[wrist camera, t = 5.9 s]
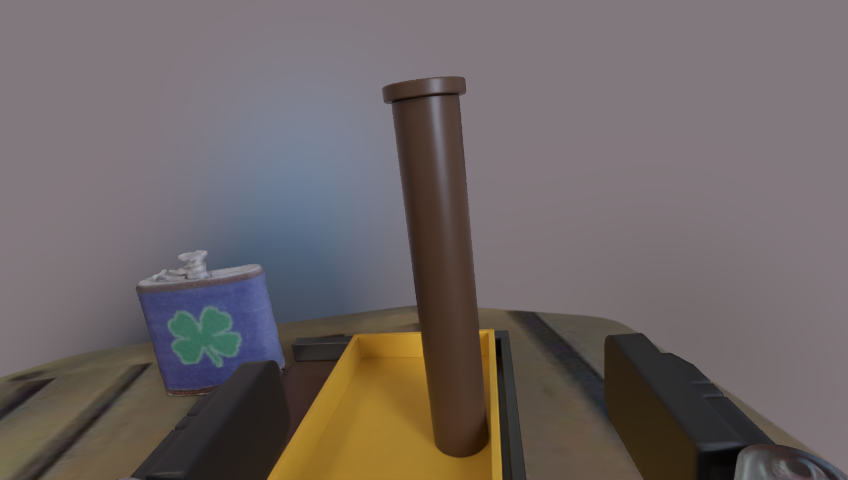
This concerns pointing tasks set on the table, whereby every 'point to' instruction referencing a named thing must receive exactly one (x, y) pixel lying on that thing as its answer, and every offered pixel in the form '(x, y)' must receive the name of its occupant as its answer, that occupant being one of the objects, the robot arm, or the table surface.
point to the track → (325, 352)
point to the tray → (415, 333)
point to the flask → (208, 323)
